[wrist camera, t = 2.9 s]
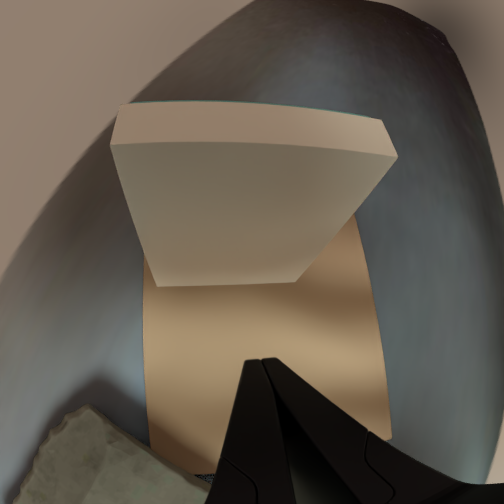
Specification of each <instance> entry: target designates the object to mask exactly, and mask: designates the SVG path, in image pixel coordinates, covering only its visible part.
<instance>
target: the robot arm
mask: <svg viewBox="0 0 504 504" xmlns="http://www.w3.org/2000/svg"><path fill="white" fill-rule="evenodd" d="M204 504H504V483H497V484H470V483H465V482H461V481H458V480H456V479H453V478H451V477H449V476H447V475H445V474H443V473H441V472H439V471H437V470H435V469H433V468H431V467H429V466H427V465H425V464H423V463H421V462H419V461H417V460H415V459H413V458H412V457H410V456H408V455H406V454H405V453H403V452H401V451H399V450H398V449H396V448H395V447H393V446H392V445H390V444H389V443H387V442H386V441H384V440H383V439H381V438H380V437H378V436H377V435H376V434H374V433H373V432H372V431H368V429H367V428H366V427H365V426H363V425H362V424H361V423H359V422H358V421H357V420H355V419H354V418H353V417H351V416H350V415H349V414H347V413H346V412H345V411H343V410H342V409H341V408H339V407H338V406H337V405H335V404H334V403H333V402H332V401H330V400H329V399H328V398H326V397H325V396H324V395H323V394H321V393H320V392H319V391H318V390H316V389H315V388H314V387H313V386H311V385H310V384H309V383H308V382H306V381H305V380H304V379H303V378H301V377H300V376H299V375H298V374H296V373H295V372H294V371H293V370H292V369H290V368H289V367H288V366H287V365H285V364H284V363H283V362H282V361H281V360H279V359H278V358H276V357H270V358H262V359H261V360H260V359H247V360H245V361H244V363H243V367H242V371H241V375H240V379H239V383H238V387H237V391H236V395H235V399H234V403H233V407H232V411H231V415H230V419H229V423H228V427H227V431H226V435H225V439H224V443H223V446H222V450H221V454H220V458H219V461H218V465H217V469H216V472H215V475H214V479H213V482H212V485H211V488H210V491H209V493H208V496H207V498H206V500H205V503H204Z"/></svg>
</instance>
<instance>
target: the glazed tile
mask: <svg viewBox="0 0 504 504" xmlns="http://www.w3.org/2000/svg"><path fill="white" fill-rule="evenodd" d="M110 148H111V151H112V155H113V158H114V162H115V165H116V169H117V172H118V176H119V179H120V182H121V186H122V189H123V192H124V195H125V198H126V202H127V205H128V208H129V211H130V214H131V217H132V220H133V223H134V226H135V229H136V231H137V234H138V237H139V240H140V243H141V246H142V248H143V251H144V254H145V257H146V259H147V262H148V265H149V267H150V270H151V273H152V275H153V278H154V280H155V283H156V285H157V287H165V286H208V285H239V284H265V283H288V282H296V281H297V279H298V278H299V277H300V276H301V275H302V274H303V273H304V271H305V270H306V269H307V268H308V267H309V266H310V265H311V263H312V262H313V261H314V260H315V259H316V258H317V256H318V255H319V254H320V253H321V252H322V251H323V249H324V248H325V247H326V246H327V245H328V243H329V242H330V241H331V240H332V239H333V238H334V236H335V235H336V234H337V233H338V232H339V230H340V229H341V228H342V227H343V226H344V224H345V223H346V222H347V221H348V220H349V218H350V217H351V216H352V215H353V214H354V212H355V211H356V210H357V209H358V207H359V206H360V205H361V204H362V202H363V201H364V200H365V199H366V198H367V196H368V195H369V194H370V193H371V191H372V190H373V189H374V188H375V186H376V185H377V184H378V183H379V181H380V180H381V179H382V178H383V176H384V175H385V174H386V172H387V171H388V170H389V169H390V167H391V166H392V165H393V163H394V162H395V161H396V160H397V158H398V155H397V153H396V151H395V148H394V146H393V144H392V142H391V139H390V137H389V135H388V133H387V131H386V129H385V127H384V124H383V122H382V120H378V119H373V118H370V117H369V116H364V115H358V114H352V113H346V112H340V111H333V110H326V109H319V108H311V107H303V106H294V105H284V104H273V103H260V102H244V101H219V100H169V101H144V102H131V104H121V105H120V108H119V111H118V115H117V119H116V122H115V126H114V130H113V134H112V138H111V142H110Z"/></svg>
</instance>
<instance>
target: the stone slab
mask: <svg viewBox="0 0 504 504" xmlns="http://www.w3.org/2000/svg"><path fill="white" fill-rule="evenodd" d="M210 488H211V484H210V483H208V482H206V481H204V480H202V479H200V478H198V477H196V476H194V475H192V474H190V473H188V472H187V471H185V470H183V469H182V468H180V467H178V466H176V465H174V464H173V463H171V462H170V461H168V460H167V459H165V458H163V457H162V456H160V455H158V454H157V453H155V452H154V451H153V450H151V449H150V448H149V447H148V446H146V445H145V444H143V443H141V442H140V441H139V440H137V439H136V438H134V437H133V436H132V435H130V434H129V433H127V432H125V431H124V430H122V429H121V428H119V427H118V426H116V425H115V424H114V423H112V422H111V421H110V420H109V419H108V418H107V417H106V416H105V415H104V414H102V413H101V412H100V411H98V410H96V409H95V408H94V407H93V406H92V405H91V404H85V405H83V406H82V407H81V408H80V409H78V410H76V411H74V412H70V413H67V414H65V416H64V418H63V420H62V422H61V424H59V425H58V426H56V427H54V428H52V429H50V431H49V434H48V436H47V438H46V439H45V440H44V441H43V443H42V444H41V445H40V446H39V452H38V453H37V455H36V456H35V457H34V460H33V466H32V469H31V470H30V471H29V472H28V474H27V475H26V477H25V479H24V481H23V482H22V483H21V485H20V493H19V494H18V495H17V496H16V497H15V498H14V500H13V503H12V504H204V503H205V500H206V498H207V496H208V493H209V491H210Z"/></svg>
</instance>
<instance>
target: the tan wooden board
mask: <svg viewBox="0 0 504 504" xmlns="http://www.w3.org/2000/svg"><path fill="white" fill-rule="evenodd" d="M143 350H144V374H145V392H146V406H147V418H148V429H149V438H150V447H151V450H153V451H154V452H155V453H157V454H158V455H160V456H162V457H163V458H165V459H167V460H168V461H170V462H171V463H173V464H174V465H176V466H178V467H180V468H182V469H183V470H185V471H187V472H188V473H190V474H192V475H194V474H215V472H216V469H217V465H218V461H219V458H220V454H221V450H222V446H223V443H224V439H225V435H226V431H227V427H228V423H229V419H230V415H231V411H232V407H233V403H234V399H235V395H236V391H237V387H238V383H239V379H240V375H241V371H242V367H243V363H244V361H245V360H247V359H260V360H261V359H262V358H270V357H276V358H278V359H279V360H281V361H282V362H283V363H284V364H285V365H287V366H288V367H289V368H290V369H292V370H293V371H294V372H295V373H296V374H298V375H299V376H300V377H301V378H303V379H304V380H305V381H306V382H308V383H309V384H310V385H311V386H313V387H314V388H315V389H316V390H318V391H319V392H320V393H321V394H323V395H324V396H325V397H326V398H328V399H329V400H330V401H332V402H333V403H334V404H335V405H337V406H338V407H339V408H341V409H342V410H343V411H345V412H346V413H347V414H349V415H350V416H351V417H353V418H354V419H355V420H357V421H358V422H359V423H361V424H362V425H363V426H365V427H366V428H367V429H368V431H372V432H373V433H374V434H376V435H377V436H378V437H380V438H381V439H383V440H384V441H386V440H389V439H392V430H391V418H390V407H389V397H388V388H387V380H386V372H385V365H384V357H383V351H382V344H381V338H380V332H379V326H378V320H377V314H376V309H375V303H374V298H373V293H372V288H371V283H370V278H369V274H368V269H367V264H366V260H365V256H364V251H363V247H362V243H361V239H360V235H359V231H358V227H357V223H356V219H355V215H354V214H353V215H352V216H351V217H350V218H349V220H348V221H347V222H346V223H345V224H344V226H343V227H342V228H341V229H340V230H339V232H338V233H337V234H336V235H335V236H334V238H333V239H332V240H331V241H330V242H329V243H328V245H327V246H326V247H325V248H324V249H323V251H322V252H321V253H320V254H319V255H318V256H317V258H316V259H315V260H314V261H313V262H312V263H311V265H310V266H309V267H308V268H307V269H306V270H305V271H304V273H303V274H302V275H301V276H300V277H299V278H298V279H297V281H296V282H288V283H265V284H239V285H208V286H165V287H157V285H156V283H155V280H154V278H153V275H152V273H151V270H150V267H149V265H148V262H147V259H146V257H145V254H144V274H143Z"/></svg>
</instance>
